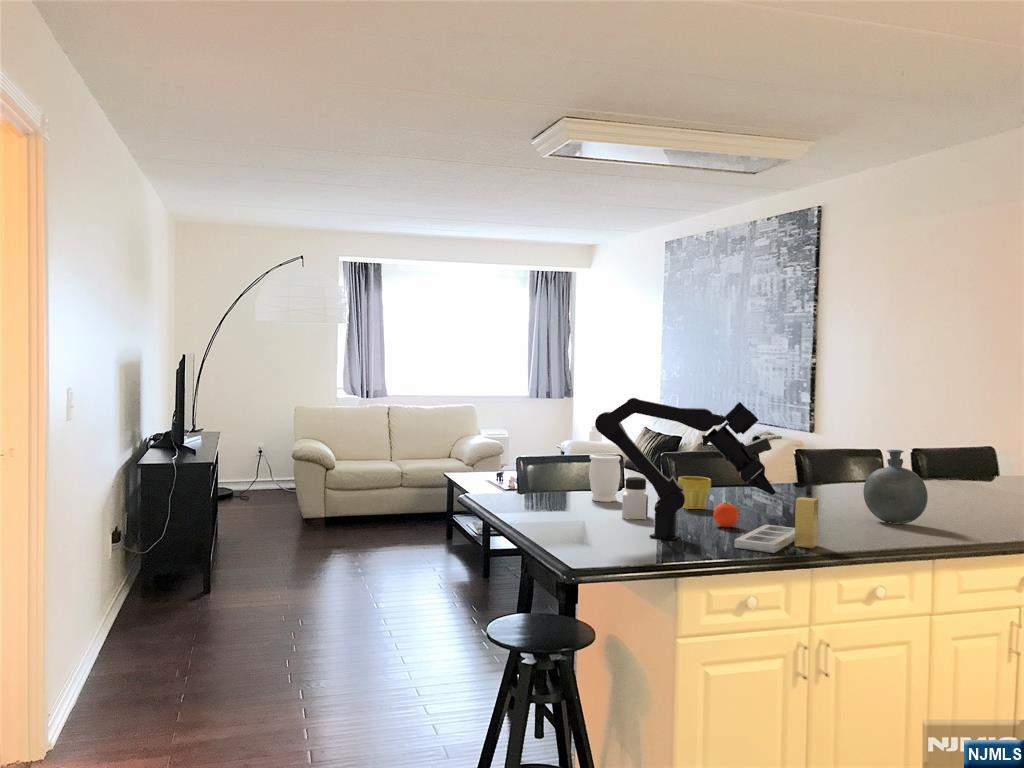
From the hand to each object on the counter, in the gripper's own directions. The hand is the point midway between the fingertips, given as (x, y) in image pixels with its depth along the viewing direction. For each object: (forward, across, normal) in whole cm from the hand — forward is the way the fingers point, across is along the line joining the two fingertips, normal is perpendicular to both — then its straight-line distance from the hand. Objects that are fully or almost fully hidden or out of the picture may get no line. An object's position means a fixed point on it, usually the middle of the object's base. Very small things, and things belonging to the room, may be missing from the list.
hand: (772, 491), depth 219 cm
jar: (-24, +57, +44) cm, 76 cm away
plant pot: (-4, +50, +23) cm, 55 cm away
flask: (+37, +40, -18) cm, 58 cm away
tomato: (+2, +20, +17) cm, 27 cm away
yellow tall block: (+16, 0, +4) cm, 16 cm away
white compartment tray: (+9, +2, +10) cm, 14 cm away
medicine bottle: (-16, +27, +36) cm, 48 cm away
